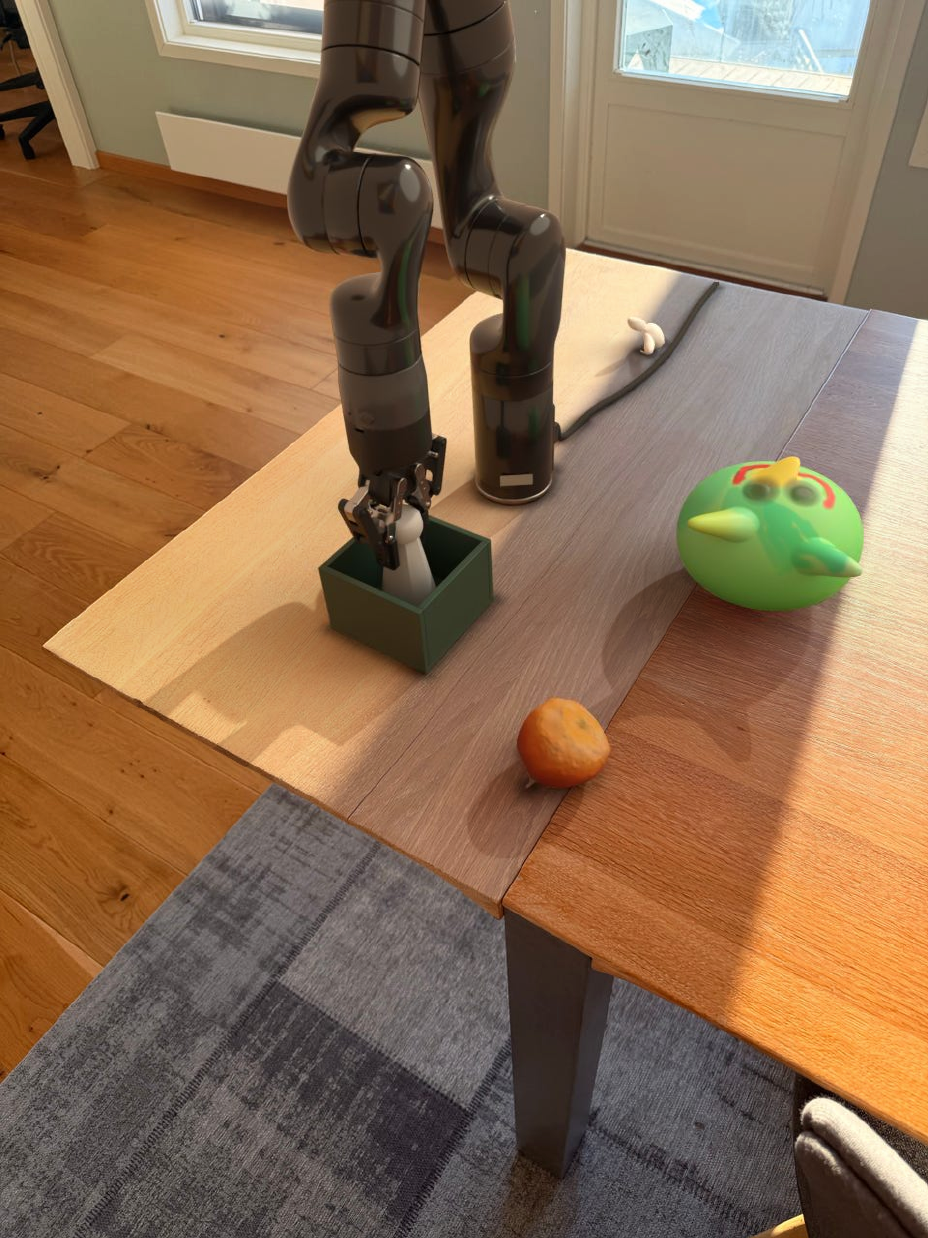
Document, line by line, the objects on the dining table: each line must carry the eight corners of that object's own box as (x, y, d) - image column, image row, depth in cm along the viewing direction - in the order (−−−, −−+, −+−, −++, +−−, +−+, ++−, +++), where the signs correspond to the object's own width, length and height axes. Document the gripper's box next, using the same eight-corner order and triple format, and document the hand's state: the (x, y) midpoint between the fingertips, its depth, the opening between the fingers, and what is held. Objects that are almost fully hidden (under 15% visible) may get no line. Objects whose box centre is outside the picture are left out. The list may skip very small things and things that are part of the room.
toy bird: (847, 553, 99) (885, 441, 89) (839, 663, 88) (880, 550, 78) (682, 525, 104) (699, 415, 94) (654, 626, 93) (670, 515, 83)
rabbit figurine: (679, 347, 132) (657, 345, 126) (658, 364, 134) (636, 363, 128) (657, 314, 133) (635, 310, 127) (637, 332, 135) (614, 329, 129)
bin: (401, 560, 102) (393, 500, 96) (493, 600, 97) (491, 539, 91) (331, 628, 95) (317, 567, 89) (426, 675, 90) (418, 614, 84)
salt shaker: (431, 632, 93) (421, 536, 84) (378, 626, 94) (361, 530, 85) (444, 593, 97) (435, 497, 88) (392, 588, 98) (378, 492, 89)
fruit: (491, 728, 83) (536, 675, 78) (563, 747, 86) (611, 697, 81) (501, 803, 77) (551, 750, 73) (578, 821, 81) (630, 771, 76)
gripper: (400, 354, 83) (416, 501, 96) (297, 430, 75) (329, 580, 88) (468, 375, 80) (475, 525, 92) (368, 456, 72) (390, 609, 84)
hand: (404, 551), depth 90 cm, fingers closed on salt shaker, 4 cm apart
